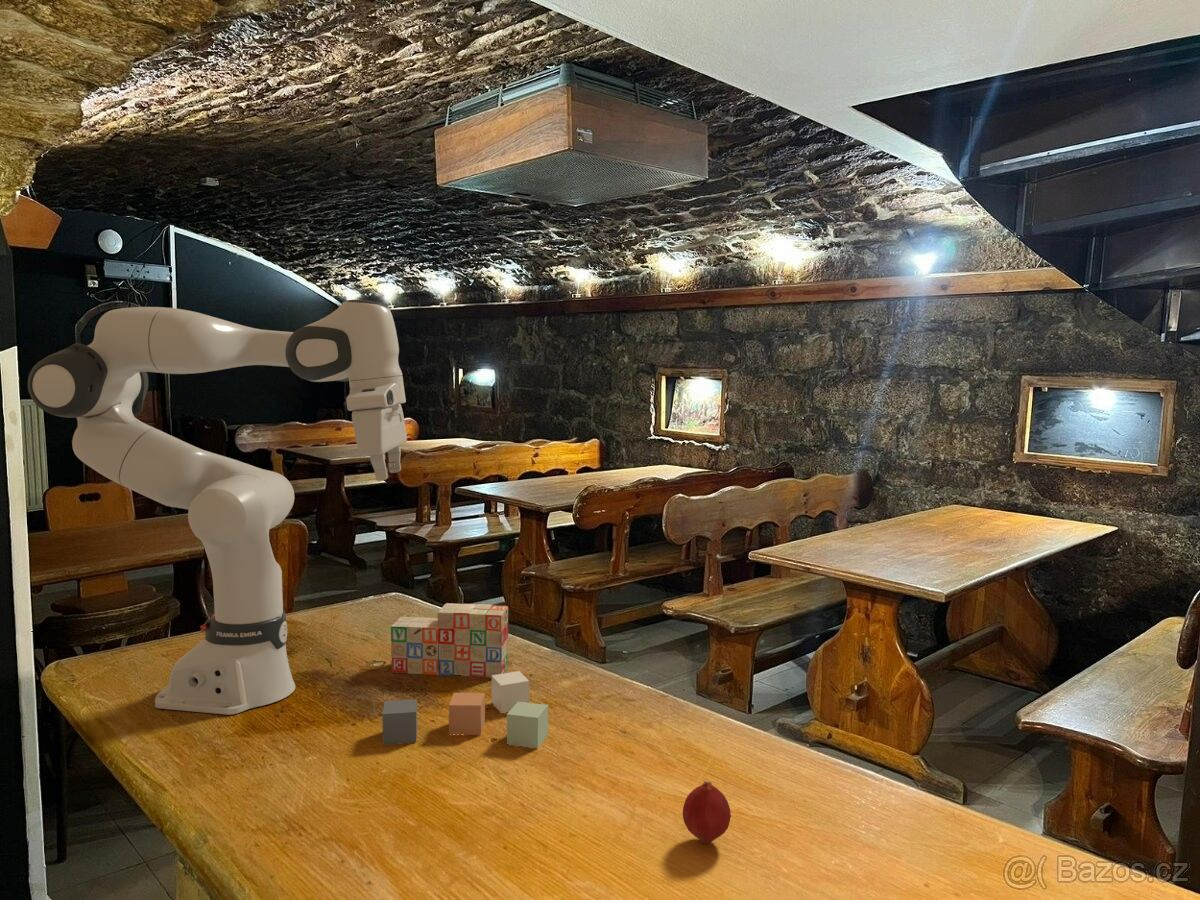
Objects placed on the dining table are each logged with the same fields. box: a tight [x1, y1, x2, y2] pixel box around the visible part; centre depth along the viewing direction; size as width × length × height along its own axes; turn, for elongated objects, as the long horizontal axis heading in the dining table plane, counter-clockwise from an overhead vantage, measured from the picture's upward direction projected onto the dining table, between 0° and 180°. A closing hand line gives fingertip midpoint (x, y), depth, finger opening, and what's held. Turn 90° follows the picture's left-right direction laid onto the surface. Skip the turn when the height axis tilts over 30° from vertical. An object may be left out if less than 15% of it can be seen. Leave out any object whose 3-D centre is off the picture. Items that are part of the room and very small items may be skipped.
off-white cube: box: [491, 670, 530, 714], centre depth 143 cm, size 5×5×5 cm
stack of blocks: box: [390, 602, 509, 678], centre depth 159 cm, size 21×6×12 cm, turn 85°
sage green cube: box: [506, 702, 549, 749], centre depth 130 cm, size 5×5×5 cm
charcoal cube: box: [381, 698, 418, 746], centre depth 131 cm, size 5×5×5 cm
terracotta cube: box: [448, 692, 486, 736], centre depth 134 cm, size 5×5×5 cm
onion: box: [682, 780, 732, 845], centre depth 102 cm, size 6×6×8 cm
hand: (389, 476), depth 143 cm, fingers open, 8 cm apart
